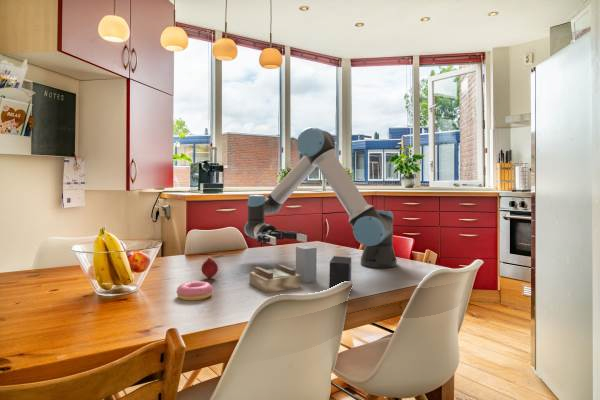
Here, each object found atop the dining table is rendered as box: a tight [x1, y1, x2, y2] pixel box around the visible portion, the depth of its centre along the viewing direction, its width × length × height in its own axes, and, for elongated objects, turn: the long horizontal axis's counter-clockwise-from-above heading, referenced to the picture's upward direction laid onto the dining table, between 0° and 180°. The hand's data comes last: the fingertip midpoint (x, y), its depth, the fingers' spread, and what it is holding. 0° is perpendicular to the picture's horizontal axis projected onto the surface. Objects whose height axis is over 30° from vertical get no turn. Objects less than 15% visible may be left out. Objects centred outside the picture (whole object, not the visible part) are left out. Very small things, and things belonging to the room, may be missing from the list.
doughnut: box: [175, 280, 214, 302], centre depth 124 cm, size 11×11×4 cm
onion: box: [200, 256, 219, 279], centre depth 146 cm, size 6×6×8 cm
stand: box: [248, 263, 302, 293], centre depth 137 cm, size 13×13×6 cm
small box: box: [328, 255, 352, 289], centre depth 130 cm, size 11×6×10 cm, turn 168°
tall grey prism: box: [295, 244, 318, 284], centre depth 144 cm, size 5×6×12 cm
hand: (291, 240), depth 152 cm, fingers open, 13 cm apart
